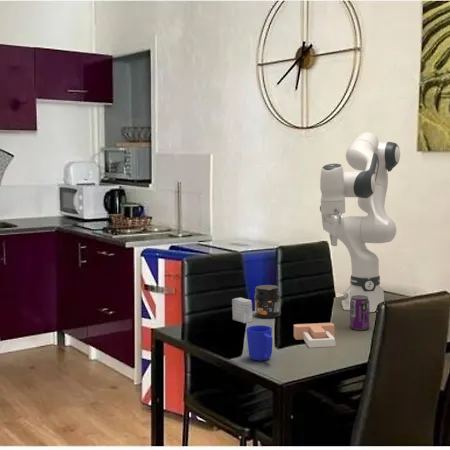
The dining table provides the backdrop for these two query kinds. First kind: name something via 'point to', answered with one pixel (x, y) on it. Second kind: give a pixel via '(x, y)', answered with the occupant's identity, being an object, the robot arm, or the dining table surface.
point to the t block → (314, 330)
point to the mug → (259, 342)
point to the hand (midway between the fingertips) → (334, 245)
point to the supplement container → (267, 301)
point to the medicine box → (242, 310)
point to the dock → (319, 340)
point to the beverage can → (359, 312)
